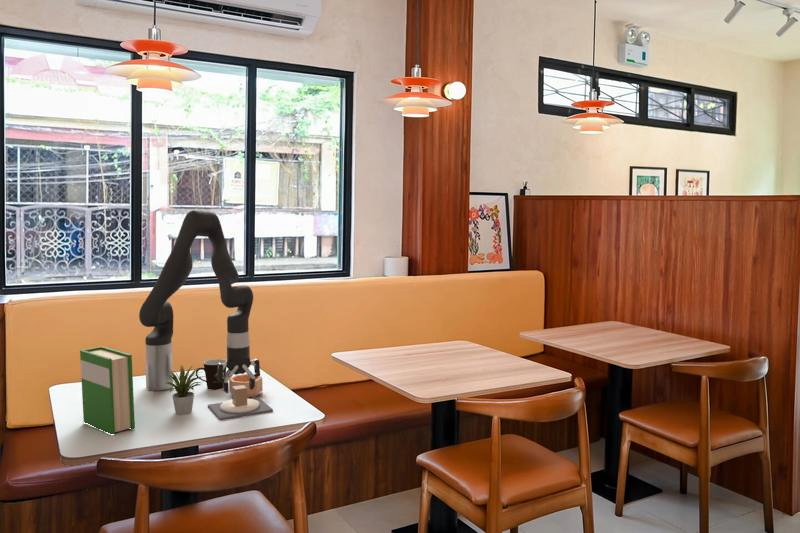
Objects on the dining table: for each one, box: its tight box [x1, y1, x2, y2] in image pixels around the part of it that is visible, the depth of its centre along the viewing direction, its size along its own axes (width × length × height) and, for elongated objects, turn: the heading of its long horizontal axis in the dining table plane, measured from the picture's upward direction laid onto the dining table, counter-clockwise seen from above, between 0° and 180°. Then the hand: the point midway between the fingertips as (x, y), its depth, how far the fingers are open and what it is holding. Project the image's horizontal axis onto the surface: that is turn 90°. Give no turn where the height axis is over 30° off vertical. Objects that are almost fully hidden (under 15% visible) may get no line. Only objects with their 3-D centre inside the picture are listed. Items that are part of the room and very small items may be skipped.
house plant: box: [165, 365, 206, 416], centre depth 222 cm, size 14×14×16 cm
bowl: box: [228, 373, 264, 399], centre depth 244 cm, size 11×11×6 cm
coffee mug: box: [195, 358, 227, 391], centre depth 252 cm, size 12×9×10 cm
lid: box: [220, 385, 259, 413], centre depth 227 cm, size 13×13×7 cm
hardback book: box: [79, 345, 136, 435], centre depth 209 cm, size 18×7×24 cm, turn 52°
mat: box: [207, 396, 274, 421], centre depth 227 cm, size 18×16×1 cm
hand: (239, 390), depth 227 cm, fingers open, 8 cm apart
